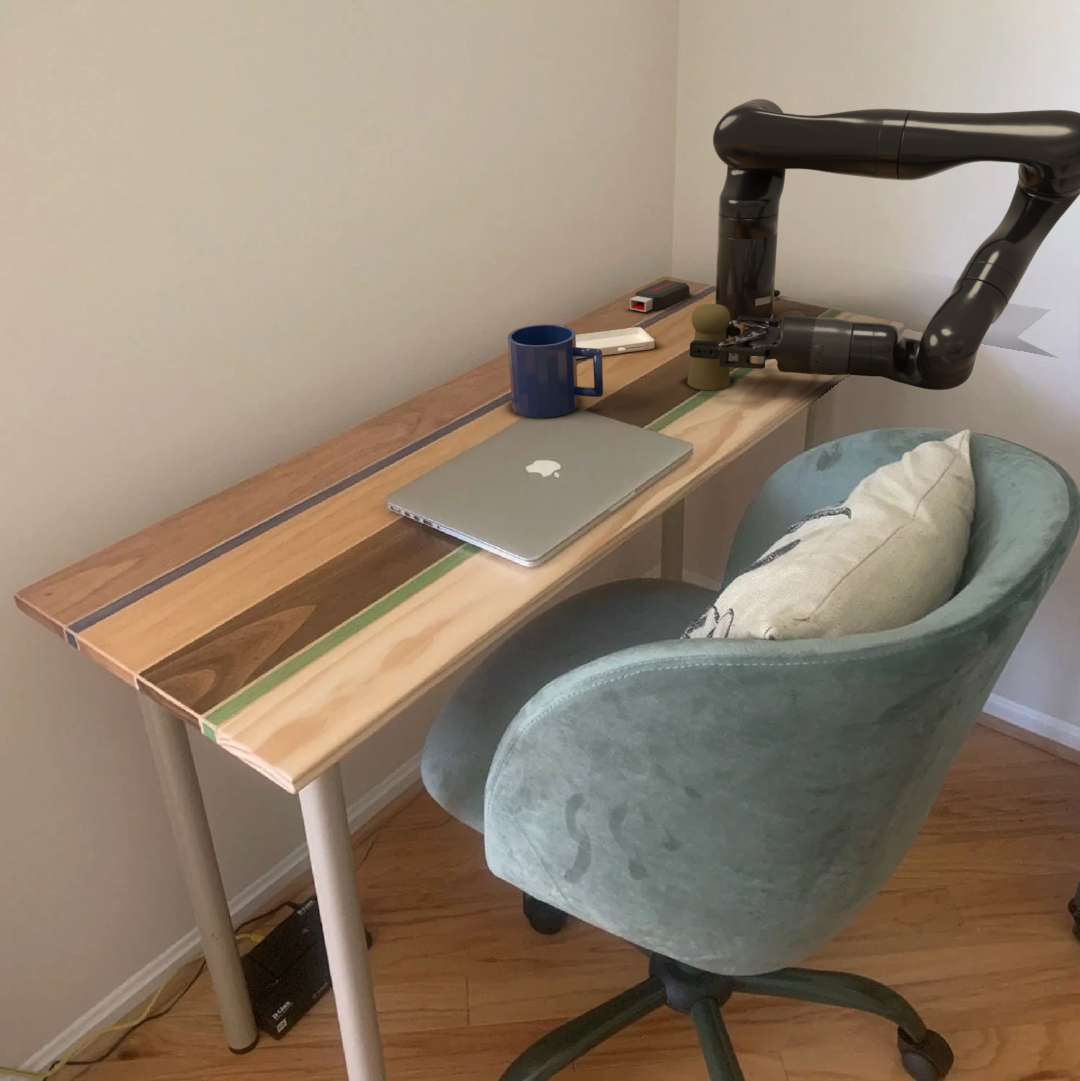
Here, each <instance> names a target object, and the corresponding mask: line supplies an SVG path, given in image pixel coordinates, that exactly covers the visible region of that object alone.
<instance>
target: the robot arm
mask: <svg viewBox="0 0 1080 1081" xmlns="http://www.w3.org/2000/svg"><path fill="white" fill-rule="evenodd" d="M712 145H713V149H714V151H715V154H716V155H717V156H718V158H719V160H721V162H723V163H724V164H725V165H726V176H725V181H724V184H723V186H722V187H723V188H722V190H721V192H720V194H719V197H718V210H717V212H718V216H717V245H716V246H717V249H716V278H715V303H714V304H719V305H722V306H724V307H726V308H727V309H728V311H729V313H730V322H729V325H728V327H727V329H726V340H727V341H723V342H714V341H698V340H694V339H693V340H691V342H690V343H689V356H690V358H691V357H693V358H708V359H717V361H718V362H719V366H721V367H729V368H734V369H735V368H737V369H754V370H755V369H756V370H762V369H763V370H764V369H765V368H766V361H767V360H775V361H776V362H777V363H776V366H777V370H778V371H779V372H781V373H789V374H802V375H803V374H805V375H819V376H859V377H881V378H884V379H888V380H890V381H894V382H897V383H901V384H904V385H908V386H912V387H915V388H919V389H923V390H930V391H944V390H945V391H947V390H952V389H954V388H957V387H960V386H961V385H963V384H964V383H966V382H967V381H968V379H969V378H970V376H971V375H972V373H973V370H974V367H975V363H976V358H977V355H978V351H979V349H980V347H981V344H982V342H983V340H984V338H985V336H986V334H987V332H988V331H989V329H990V328H991V326H992V325H993V324H995V323H996V322H997V321H998V320H999V318H1000V317H1001V316H1002V314H1003V313H1004V312H1005V310H1006V308H1007V306H1008V304H1009V303H1010V301H1011V299H1012V297H1013V295H1014V293H1015V292H1016V290H1017V289H1018V286H1019V285H1020V284H1021V281H1022V279H1023V277H1024V275H1025V274H1026V271H1027V270H1028V268H1029V267H1030V265H1031V263H1032V261H1033V259H1034V257H1035V255H1036V253H1037V252H1038V250H1039V249H1040V247H1041V245H1042V244H1043V242H1044V241H1045V239H1046V238H1047V236H1048V235H1049V234H1050V233H1051V231H1052V230H1053V228H1054V227H1055V226H1056V224H1057V223H1058V221H1059V220H1061V218H1062V217H1063V216H1064V214H1065V213H1067V211H1068V209H1069V208H1071V206H1072V205H1073V204H1074V203H1075V202H1076V200H1077V199H1078V198H1079V197H1080V112H1079V111H1074V110H1067V109H1041V110H1040V109H1039V110H1024V111H1022V110H1021V111H1005V112H960V111H959V112H957V111H956V112H954V111H953V112H952V111H951V112H950V111H927V110H916V109H904V108H903V109H901V108H900V109H899V108H871V109H870V108H868V109H867V108H866V109H856V110H847V111H841V112H840V111H839V112H833V113H826V114H815V115H813V114H812V115H810V114H808V115H806V114H795V113H786V112H784V111H783V110H782V108H781V107H780V106H779V105H778V104H777V103H775V102H773V101H772V100H769V99H766V98H755V99H751V100H747V101H745V102H743V103H741V104H739V105H737V106H734V107H732V108H731V109H729V111H727V112H726V113H724V115H723V116H721V118H719V121H718V122H717V123H716V126H715V128H714V131H713V134H712ZM979 162H992V163H993V162H994V163H995V162H996V163H1010V164H1018V168H1017V176H1018V179H1017V183H1016V187H1015V190H1014V193H1013V195H1012V198H1011V201H1010V204H1009V206H1008V208H1007V210H1006V213H1005V214H1004V216H1003V218H1002V220H1001V221H1000V223H999V224H998V225H997V227H996V228H995V229H994V230H993V231H992V232H991V233H990V234H989V235H988V236H987V237H986V238H985V239H984V240H983V241H982V242H981V243H980V244H979V246H978V247H977V248H976V249H975V250H974V252H973V253H972V255H971V256H970V258H969V260H968V261H967V263H966V265H965V266H964V268H963V269H962V272H961V273H960V275H959V277H958V279H957V280H956V282H955V283H954V286H953V287H952V290H951V292H950V294H949V296H948V297H947V298H946V299H945V300H944V301H943V303H942V304H941V305H939V307H938V309H937V310H935V313H934V314H933V315H932V316H931V318H930V320H929V321H928V323H927V325H926V326H925V328H924V330H923V332H922V335H921V336H920V339H916V338H912V337H907V336H904V335H902V334H901V333H900V330H899V329H898V327H897V326H895V324H892V323H886V322H874V321H872V322H871V321H854V320H847V319H842V318H837V317H819V316H817V317H816V316H799V315H786V316H784V317H783V318H782V321H781V323H780V319H779V318H774V299H775V298H778V297H779V296H780V295H781V290H779V289H775V282H776V268H777V250H778V234H779V215H780V204H781V203H780V202H781V198H782V196H783V191H784V187H785V181H786V170H808V171H817V172H821V173H822V172H823V173H829V174H835V175H843V176H852V177H859V178H870V179H880V180H892V181H893V180H894V181H918V180H922V179H926V178H929V177H933V176H935V175H936V176H937V175H939V174H941V173H944V172H946V171H947V172H948V171H949V170H952V169H955V168H956V167H957V168H958V167H961V166H965V165H968V164H973V163H979ZM728 339H730V340H728Z"/></svg>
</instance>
